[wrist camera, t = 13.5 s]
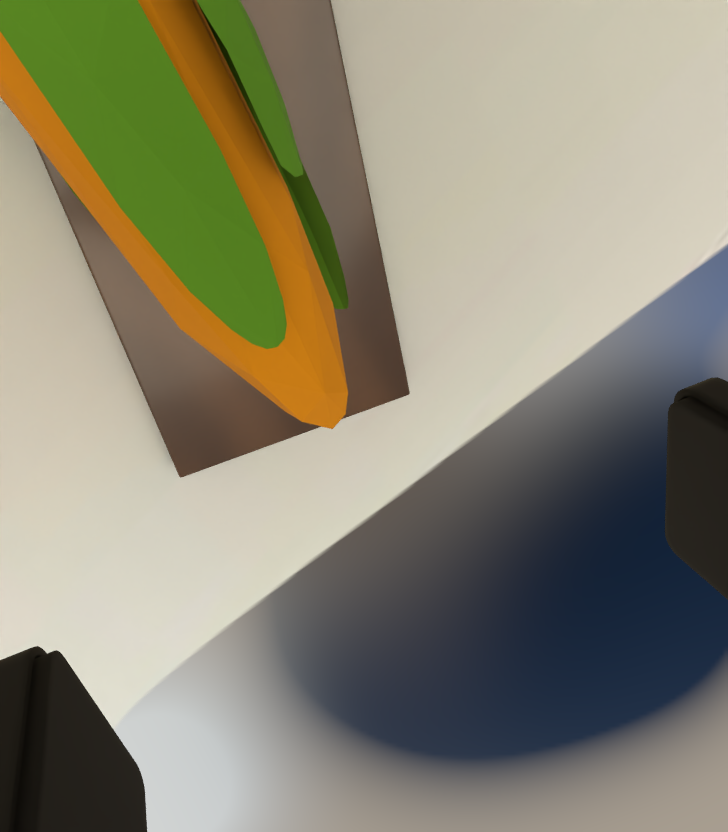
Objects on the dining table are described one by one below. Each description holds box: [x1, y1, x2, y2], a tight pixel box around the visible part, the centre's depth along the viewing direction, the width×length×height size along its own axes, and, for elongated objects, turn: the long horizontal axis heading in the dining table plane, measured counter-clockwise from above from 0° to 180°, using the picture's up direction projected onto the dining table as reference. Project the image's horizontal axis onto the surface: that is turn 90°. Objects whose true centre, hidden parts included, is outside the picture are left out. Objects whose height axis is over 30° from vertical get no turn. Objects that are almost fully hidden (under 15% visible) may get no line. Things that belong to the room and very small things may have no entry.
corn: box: [0, 0, 349, 429], centre depth 21 cm, size 7×8×20 cm
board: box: [35, 0, 410, 477], centre depth 25 cm, size 11×23×1 cm, turn 12°
